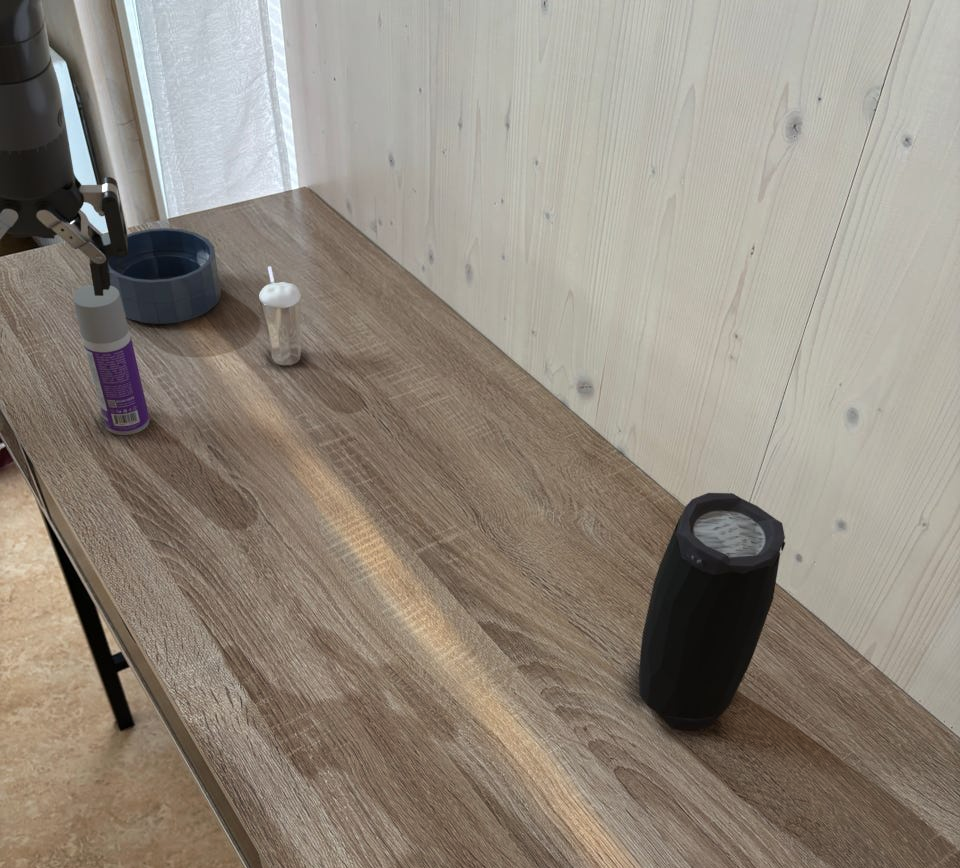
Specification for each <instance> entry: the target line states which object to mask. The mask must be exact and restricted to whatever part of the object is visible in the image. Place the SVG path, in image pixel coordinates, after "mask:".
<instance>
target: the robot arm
mask: <svg viewBox="0 0 960 868" xmlns="http://www.w3.org/2000/svg"><path fill="white" fill-rule="evenodd" d="M50 48H51V47H50V43H49V36H48V31H47V25H46V19H45V14H44V8H43V1H42V0H0V241H1V240H2V238H3V237H4V236H5V234H10V235H12V238H15V239H24V238H31V237H38V238H42V239H53V240H54V239H55V238H56V237H55V236H58V237H60V238H61V239H62V240H63V241H64V242H65V243H67V244H68V246H70V247H71V248H73V249H74V250H77V249H78V250H79V251H80V252H82V253H83V254H84V255H85V256H86V257H87V258H88V259H89V268H90V275H91V279H92V284H93V287H94V293H95V296H103V290H109V288H110V269H109V262H108V259H109V258H110V257H113V256H116V257H118V258H124V257H126V256H127V254H128V245H127V235H128V231H127V225H126V220H125V214H124V210H123V206H122V205H123V204H122V200H121V194H120V190H119V185H118V182H117V180H116V179H115V178H113V177H111V176H105V177H103V178H102V180H101V184H82V183H81V181H79V179H78V178H77V176H76V175H75V171H74V166H73V160H72V154H71V147H70V141H69V134H68V129H67V122H66V118H65V117H66V116H65V110H64V105H63V100H62V99H63V98H62V93H61V92H62V91H61V87H60V82H59V79H58V76H57V72H56V70H55V67H54V63H53V60H52V54H51V49H50ZM84 203H87V204H89V205H91V206H92V207H93V210H94V211H95V212H96V213H97V214H98V216H100V217H104V219H105V223H106V224H105V225H106V228H107V233H104V234H103V233H102V232H101V231H100V230H99V229H98V228H97V227H96V226H94V224H92V223H91V222H90V221H89V218H88V216H87V215H86V213H85V212H84V211H83V210H81V209H82V208H83V206H84Z"/></svg>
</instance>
